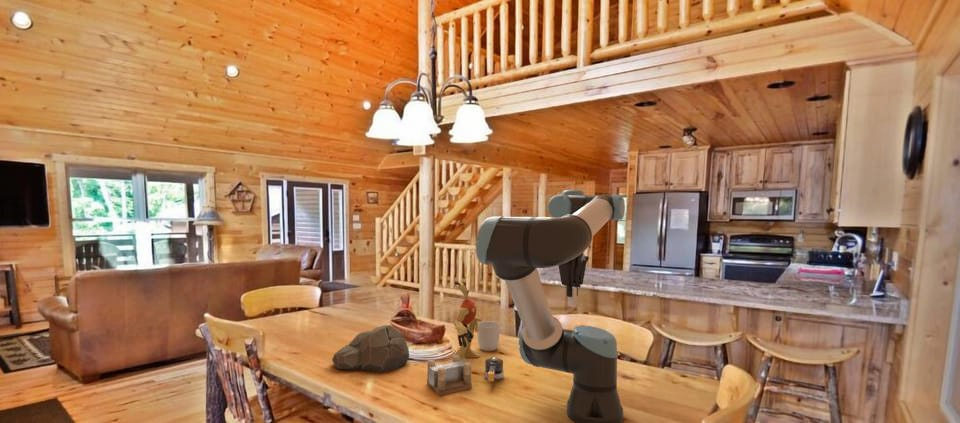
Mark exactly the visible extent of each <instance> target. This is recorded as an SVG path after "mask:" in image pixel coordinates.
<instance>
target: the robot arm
mask: <svg viewBox="0 0 960 423" xmlns="http://www.w3.org/2000/svg"><path fill="white" fill-rule="evenodd" d="M625 204H626V203H625V198H624V196H623V195H621V194H612V193H610V194H594V195H593V194H585V193H584V191H583V190H581V189H579V190H576V189H575V190H574V189H573V190H572V189H571V190H570V189H567V190H566V189H565V190H563V191H562V192H561V194H557V195H556V194H555V195H554V196H552V197H551V198H550V199H549V201H548V203H547V212H548V214H549V215H550V216H551V217H549V216H548V217H547V216H504V215H499V216H488V217H487V218H485V219H484V220H483V221H482V223H481V225H480V226H479V228H478V231H477V234H476V240H475V253H476V257H477V260H478V261H479V262H480V263H481V264H483V265H485V266H487V265H491V267H492V269H493V272H494V273H495V275H496V277H498V278H499V279H500V280H503V281H504V283H505V284H506V287H507V290H508V291H509V295H510V297H511V299H512V302H513V305H514V307H515V309H516V312H517V314H518V316H519V319H520V321H521V324H522V326H523V328H522V329H521V331H520V334H519V337H518V338H519V339H518V346H519V349H518V351H519V354H520V357H521V359H522V360H523V362H524V363H526V364H528V365H530V366H533V367H536V368H543V369H547V370H553V371H558V372H563V373H568V374H571V375H573V377H572V378H573V381H572V382H573V384H572V388H571V389H570V393H569V397H568V399H567V402H566V414H567V416H568V417H569V419H571V420H572V421H573V422H575V423H623V421H624V408H623V406H622V405H621V399H620V396H619V392H618V387H617V386H618V385H617V384H618V356H619V353H618V352H619V351H618V344H617V342H618V341H617V338H616V337H615V336H614V334H613V333H611V332H609V331H607V330H606V329H603V328H599V327H596V326H590V325H577V326H575V327H574V329H573V330H572V329H566V328H563V326H562V323H561V322H560V320H559V319H558V318H557V317H555V316H553V313H552V309H551V307H550V304H549V300H548V298H547V295H546V292H545V289H544V287H543V284H542V280H541V278H540V274H539V272H538V269H549V268H554V267H557V266H558V273H559V276H560V282H561V285H562V286H564V287H566V297H567V306H568V307H571V308H577V304H578V303H577V297H578V295H579V292H578V291H579V288H580V287H582V286H581V285H583V284H584V280H585V279H584V278H585V275H586V273H585V272H586V269H587V268H586V267H587V263H588V261H589V259H590V258H589V256H587V255H585V254H584V253H585V252H586V250H588V248H589V247H590V245H591V243H592V240H593V237H594V236H595V235H596V234H597V233H598V232H599V231H600V229H602V228H603V227H604V226H605V224H606V223H607V222H608V221H619V220H622V219H624V216H625V208H626V207H625V206H626V205H625Z"/></svg>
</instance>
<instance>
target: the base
mask: <svg viewBox="0 0 960 423" xmlns="http://www.w3.org/2000/svg"><path fill="white" fill-rule="evenodd" d="M504 376H505V374H504V370H503V372H501V373H497V374H496V375H495V379H494V381H493V382H496V381H497V382H498V381H501V380H503V379H504ZM484 378H485V379H486V380H487V381H488V372H486V371H485V370H484Z"/></svg>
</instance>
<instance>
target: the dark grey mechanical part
mask: <svg viewBox="0 0 960 423" xmlns="http://www.w3.org/2000/svg"><path fill="white" fill-rule="evenodd" d="M484 363H485V365H484V367H485V369H484V372H485V371H486V372H488V380H487V381H488V382H495V381H494V379H495V375H496V374H497V373H501V372H503V371H504V360H502V359H501V358H498V357H497V356H491V357H490V358H487V359H485V362H484Z"/></svg>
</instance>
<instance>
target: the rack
mask: <svg viewBox="0 0 960 423" xmlns="http://www.w3.org/2000/svg"><path fill="white" fill-rule="evenodd" d="M457 361H460V356H458V355H456V354H454V355H452V362H457ZM452 362H451V363H452ZM431 366H436V360H434V359H428V360H427V377H426V378H427V379H426V385H427V386H428V387H430V388H431V389H432V390H433V391H434V392H435V393H436V394H438V395H439V396H444V395H449V394H452V393H458V392H461V391H465V390H469V389H472V388H473V387H472V386H473V384H472V363H471V362H469V363H464V381H460V382H456V383H451V384H447V385H446V369H445V368H439V369H438V386H437V387H433V386H432V385H431V384H430V383H429V367H431Z"/></svg>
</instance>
